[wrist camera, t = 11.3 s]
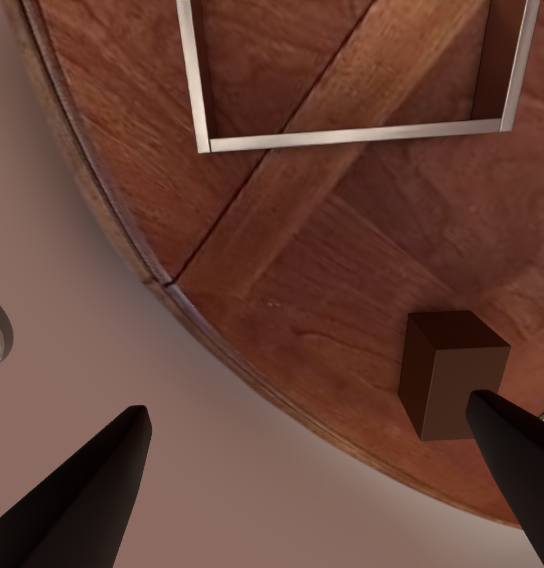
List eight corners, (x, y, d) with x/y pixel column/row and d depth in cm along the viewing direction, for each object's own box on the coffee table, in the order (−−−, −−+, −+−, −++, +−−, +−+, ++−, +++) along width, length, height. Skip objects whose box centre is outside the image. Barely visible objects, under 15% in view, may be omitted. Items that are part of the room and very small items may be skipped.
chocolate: (452, 392, 24) (484, 438, 20) (397, 395, 24) (420, 441, 20) (470, 310, 21) (511, 346, 17) (408, 313, 21) (436, 350, 17)
